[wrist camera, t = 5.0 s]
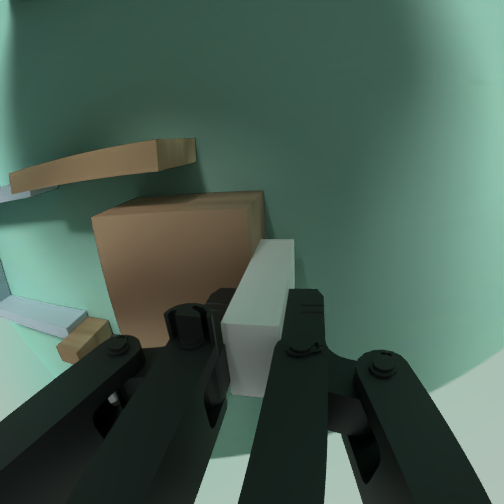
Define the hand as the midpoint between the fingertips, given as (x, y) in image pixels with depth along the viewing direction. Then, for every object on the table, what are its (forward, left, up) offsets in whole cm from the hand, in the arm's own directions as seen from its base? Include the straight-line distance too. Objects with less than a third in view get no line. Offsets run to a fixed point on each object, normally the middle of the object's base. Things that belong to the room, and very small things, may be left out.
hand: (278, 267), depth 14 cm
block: (0, -4, -2) cm, 4 cm away
